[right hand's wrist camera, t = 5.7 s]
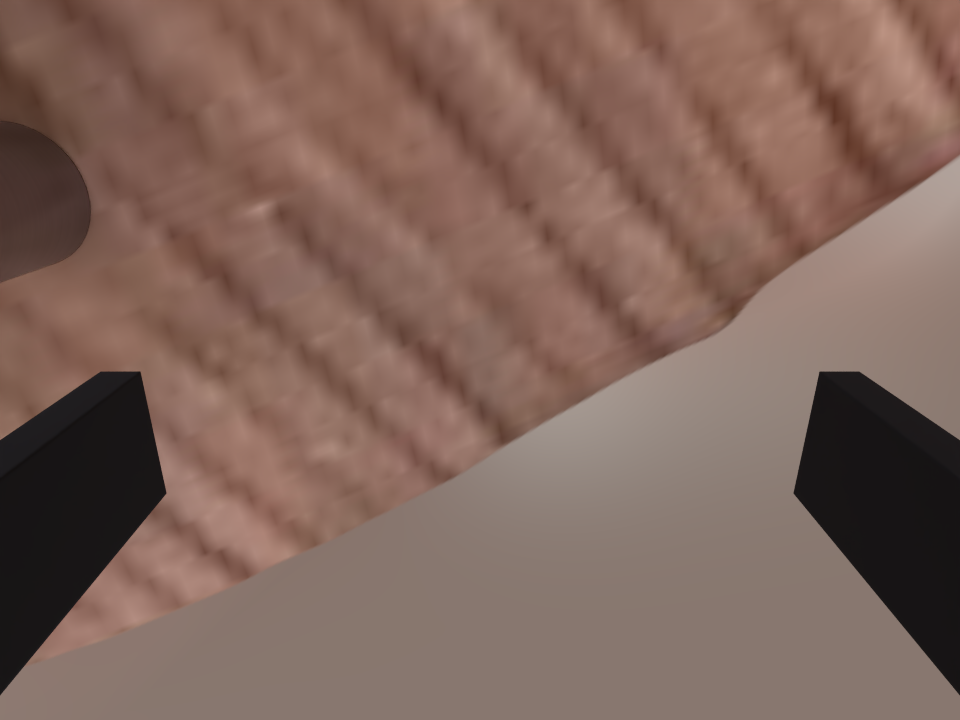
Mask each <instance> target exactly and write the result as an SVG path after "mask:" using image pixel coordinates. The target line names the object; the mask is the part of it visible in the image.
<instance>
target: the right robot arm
mask: <svg viewBox="0 0 960 720" xmlns="http://www.w3.org/2000/svg"><path fill="white" fill-rule="evenodd" d="M165 494H166V489H165V484H164V480H163V475H162V470H161V466H160V461H159V456H158V452H157V447H156V442H155V438H154V433H153V428H152V424H151V419H150V414H149V410H148V405H147V400H146V396H145V391H144V386H143V382H142V377H141V372H100V373H98V374H97V375H95V376H94V377H92V378H91V379H89V380H88V381H86V382H85V383H83V384H82V385H80V386H79V387H78V388H76V389H75V390H73V391H72V392H70V393H69V394H67V395H66V396H64V397H63V398H61V399H60V400H59V401H57V402H56V403H54V404H53V405H51V406H50V407H48V408H47V409H45V410H44V411H42V412H41V413H39V414H38V415H37V416H35V417H34V418H32V419H31V420H29V421H28V422H26V423H25V424H23V425H22V426H20V427H19V428H17V429H16V430H15V431H13V432H12V433H10V434H9V435H7V436H6V437H4V438H3V439H1V440H0V695H1V694H2V692H3V691H4V690H5V689H6V688H7V686H8V685H9V684H10V683H11V681H12V680H13V679H14V678H15V677H16V675H17V674H18V673H19V672H20V671H21V669H22V668H23V667H24V666H25V664H26V663H27V662H28V661H29V660H30V658H31V657H32V656H33V655H34V654H35V652H36V651H37V650H38V649H39V647H40V646H41V645H42V644H43V643H44V641H45V640H46V639H47V638H48V637H49V635H50V634H51V633H52V632H53V630H54V629H55V628H56V627H57V626H58V624H59V623H60V622H61V621H62V620H63V618H64V617H65V616H66V615H67V613H68V612H69V611H70V610H71V609H72V607H73V606H74V605H75V604H76V603H77V601H78V600H79V599H80V598H81V596H82V595H83V594H84V593H85V592H86V590H87V589H88V588H89V587H90V586H91V584H92V583H93V582H94V581H95V579H96V578H97V577H98V576H99V575H100V573H101V572H102V571H103V570H104V569H105V567H106V566H107V565H108V564H109V562H110V561H111V560H112V559H113V558H114V556H115V555H116V554H117V553H118V552H119V550H120V549H121V548H122V547H123V545H124V544H125V543H126V542H127V541H128V539H129V538H130V537H131V536H132V535H133V533H134V532H135V531H136V530H137V528H138V527H139V526H140V525H141V524H142V522H143V521H144V520H145V519H146V518H147V516H148V515H149V514H150V513H151V511H152V510H153V509H154V508H155V507H156V505H157V504H158V503H159V502H160V501H161V499H162V498H163V497H164V496H165ZM794 494H795V496H796V497H797V498H798V499H799V501H800V502H801V503H802V504H803V505H804V507H805V508H806V509H807V510H808V511H809V513H810V514H811V515H812V516H813V518H814V519H815V520H816V521H817V522H818V524H819V525H820V526H821V527H822V528H823V530H824V531H825V532H826V533H827V534H828V536H829V537H830V538H831V539H832V541H833V542H834V543H835V544H836V545H837V547H838V548H839V549H840V550H841V552H842V553H843V554H844V555H845V556H846V558H847V559H848V560H849V561H850V562H851V564H852V565H853V566H854V567H855V569H856V570H857V571H858V572H859V573H860V575H861V576H862V577H863V578H864V579H865V581H866V582H867V583H868V584H869V585H870V587H871V588H872V589H873V590H874V592H875V593H876V594H877V595H878V596H879V598H880V599H881V600H882V601H883V603H884V604H885V605H886V606H887V607H888V609H889V610H890V611H891V612H892V613H893V615H894V616H895V617H896V618H897V620H898V621H899V622H900V623H901V624H902V626H903V627H904V628H905V629H906V630H907V632H908V633H909V634H910V635H911V636H912V638H913V639H914V640H915V641H916V643H917V644H918V645H919V646H920V647H921V649H922V650H923V651H924V652H925V654H926V655H927V656H928V657H929V658H930V660H931V661H932V662H933V663H934V664H935V666H936V667H937V668H938V669H939V671H940V672H941V673H942V674H943V675H944V677H945V678H946V679H947V680H948V681H949V683H950V684H951V685H952V686H953V688H954V689H955V690H956V691H957V692H958V694H959V695H960V440H959V439H957V438H956V437H954V436H953V435H951V434H950V433H948V432H947V431H945V430H944V429H942V428H941V427H940V426H938V425H937V424H935V423H934V422H932V421H931V420H929V419H928V418H926V417H925V416H923V415H922V414H920V413H919V412H918V411H916V410H915V409H913V408H912V407H910V406H909V405H907V404H906V403H904V402H903V401H901V400H900V399H899V398H897V397H896V396H894V395H893V394H891V393H890V392H888V391H887V390H885V389H884V388H882V387H881V386H879V385H878V384H877V383H875V382H874V381H872V380H871V379H869V378H868V377H866V376H865V375H863V374H862V373H860V372H819V377H818V382H817V386H816V391H815V396H814V400H813V405H812V410H811V414H810V419H809V424H808V428H807V433H806V438H805V442H804V447H803V452H802V456H801V461H800V466H799V470H798V475H797V480H796V484H795V489H794Z"/></svg>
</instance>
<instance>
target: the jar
mask: <svg viewBox="0 0 960 720" xmlns="http://www.w3.org/2000/svg"><path fill="white" fill-rule="evenodd" d="M89 222H90V202H89V197H88V192H87V189H86V186H85V183H84V181H83V179H82V177H81V175H80V173H79V171H78V170H77V168H76V166H75V165H74V164H73V162H72V161H71V160H70V158H69V157H68V156H67V155H66V154H65V153H64V152H63V150H62V149H61V148H59V147H58V146H57V145H56V144H55V143H54V142H53V141H51V140H50V139H48V138H47V137H45V136H44V135H42V134H41V133H39V132H37V131H35V130H33V129H31V128H28V127H26V126H23V125H20V124H16V123H12V122H5V121H0V283H1V282H4V281H7V280H10V279H12V278H15V277H18V276H21V275H24V274H27V273H29V272H32V271H35V270H38V269H41V268H43V267H46V266H49V265H52V264H55V263H57V262H60V261H62V260H64V259H66V258H67V257H69V256H70V255H71V254H73V253H74V252H75V251H76V250H77V249H78V247H79V246H80V245H81V243H82V242H83V240H84V238H85V236H86V233H87V231H88V227H89Z"/></svg>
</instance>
